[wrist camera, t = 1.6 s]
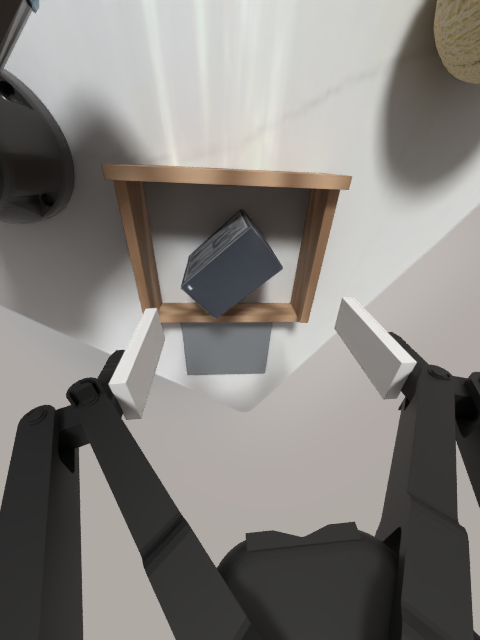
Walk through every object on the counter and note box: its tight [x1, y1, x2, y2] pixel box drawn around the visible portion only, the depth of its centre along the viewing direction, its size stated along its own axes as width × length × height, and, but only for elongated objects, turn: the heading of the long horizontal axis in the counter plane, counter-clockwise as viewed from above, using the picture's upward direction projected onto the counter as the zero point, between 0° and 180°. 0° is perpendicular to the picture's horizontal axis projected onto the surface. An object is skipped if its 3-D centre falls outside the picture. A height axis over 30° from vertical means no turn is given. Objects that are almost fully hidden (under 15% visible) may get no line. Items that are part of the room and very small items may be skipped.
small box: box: [181, 209, 283, 319], centre depth 31 cm, size 11×6×10 cm, turn 129°
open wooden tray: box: [101, 164, 352, 323], centre depth 32 cm, size 24×20×8 cm
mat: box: [181, 322, 272, 375], centre depth 45 cm, size 16×13×1 cm
